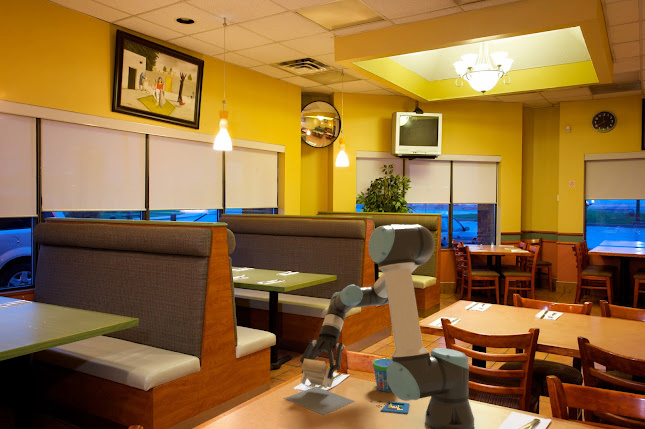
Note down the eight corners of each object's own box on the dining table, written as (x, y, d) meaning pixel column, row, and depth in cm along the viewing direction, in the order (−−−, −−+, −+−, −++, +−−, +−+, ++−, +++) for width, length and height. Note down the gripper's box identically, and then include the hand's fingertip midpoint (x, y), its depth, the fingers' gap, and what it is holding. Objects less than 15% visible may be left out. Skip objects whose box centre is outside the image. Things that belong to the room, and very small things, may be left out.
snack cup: (370, 381, 198) (370, 356, 198) (397, 381, 198) (397, 355, 198) (375, 397, 182) (375, 369, 182) (404, 397, 183) (404, 369, 182)
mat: (355, 402, 178) (355, 401, 178) (323, 416, 166) (323, 415, 166) (315, 388, 192) (315, 386, 192) (283, 400, 180) (283, 398, 180)
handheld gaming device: (367, 398, 180) (409, 402, 176) (367, 401, 180) (409, 405, 176) (363, 407, 172) (407, 411, 168) (363, 410, 172) (407, 415, 168)
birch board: (314, 373, 191) (304, 358, 183) (334, 376, 188) (324, 361, 180) (311, 384, 189) (300, 368, 181) (331, 387, 185) (321, 371, 177)
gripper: (359, 337, 193) (343, 393, 179) (310, 331, 202) (291, 384, 188) (354, 326, 188) (337, 384, 174) (304, 321, 197) (284, 375, 183)
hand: (313, 384), depth 181 cm, fingers closed on birch board, 8 cm apart
